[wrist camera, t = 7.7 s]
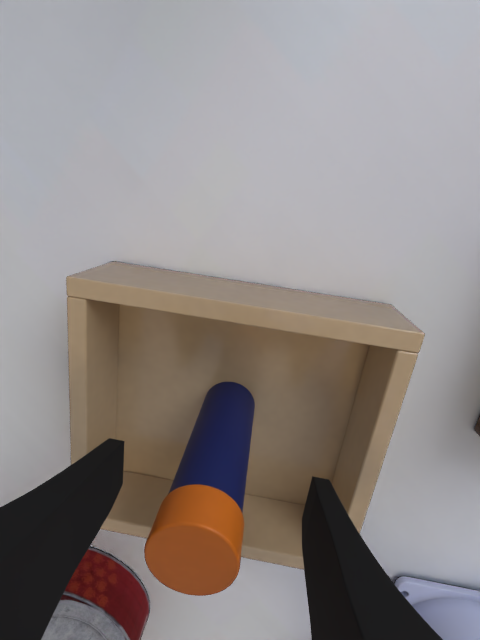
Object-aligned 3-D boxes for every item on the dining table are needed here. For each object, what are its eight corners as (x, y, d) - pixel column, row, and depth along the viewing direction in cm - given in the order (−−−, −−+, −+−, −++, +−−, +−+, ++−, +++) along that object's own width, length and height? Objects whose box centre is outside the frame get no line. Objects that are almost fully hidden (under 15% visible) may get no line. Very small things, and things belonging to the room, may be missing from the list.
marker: (252, 431, 18) (232, 605, 10) (200, 421, 19) (141, 586, 11) (260, 384, 18) (246, 534, 9) (205, 374, 18) (145, 515, 10)
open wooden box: (333, 510, 20) (345, 578, 17) (108, 467, 21) (71, 524, 17) (391, 304, 16) (426, 333, 13) (112, 260, 17) (65, 276, 13)
